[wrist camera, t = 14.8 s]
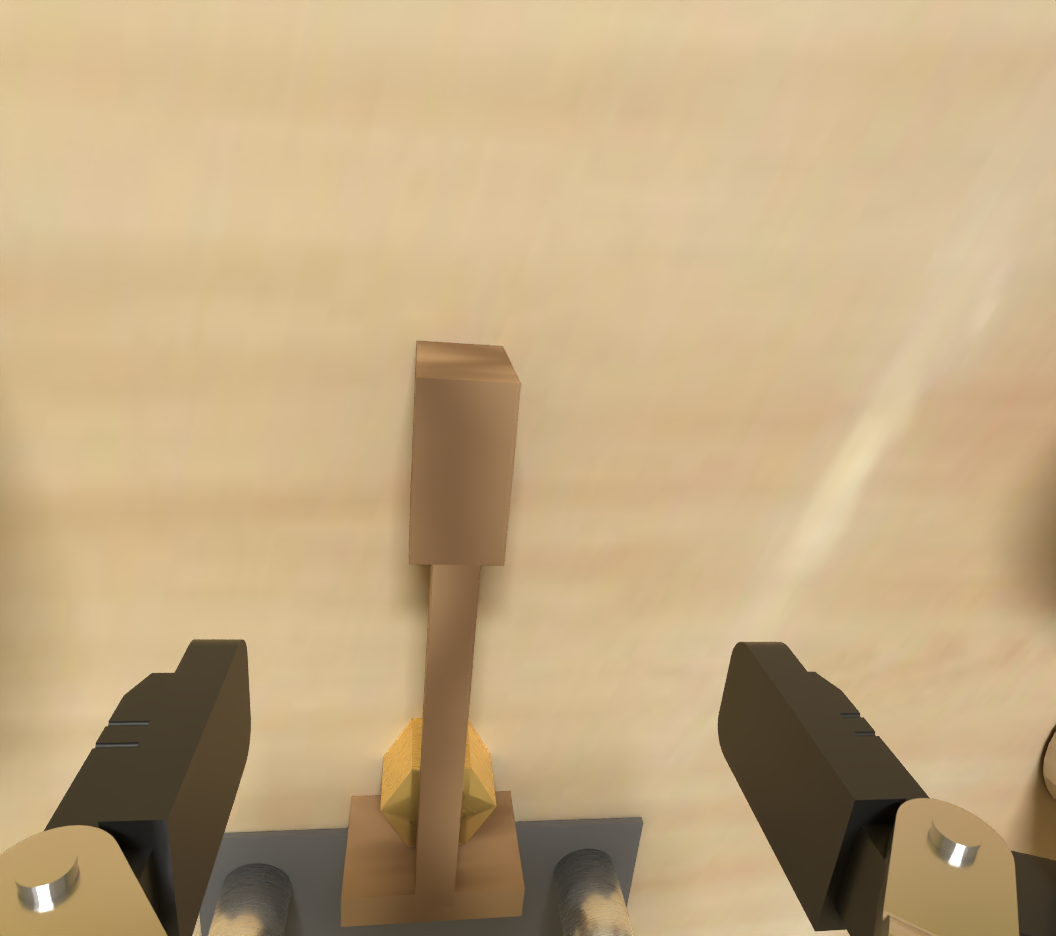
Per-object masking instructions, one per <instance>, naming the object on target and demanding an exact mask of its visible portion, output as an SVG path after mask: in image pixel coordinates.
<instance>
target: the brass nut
mask: <svg viewBox="0 0 1056 936" xmlns="http://www.w3.org/2000/svg"><path fill="white" fill-rule="evenodd" d="M422 723H423V718H415V719H412V720H411V721H410V723H409V724H408V725H407V726H406V728H405V729H404V730H403V732H402V733H401V734H400V736H399V737H398V738H397V740H396V741H395V742H394V744H393V745H392V746H391V748H390V749H389V750H388V752H387V753H386V754H385V756H384V759H383V776H382V792H381V809H380V811H381V812H382V813H383V815H384V816H385V817H386V819H387V820H388V821H389V823H390V824H391V825H392V827H393V828H394V829H395V830H396V832H397V833H398V834H399V836H400V837H401V838H402V840H403V841H404V842H405V844H406V845H407V846H408V847H416V835H417V816H418V797H419V779H420V760H421V741H422ZM496 807H497V805H496V797H495V789H494V780H493V772H492V764H491V756H490V753H489V751H488V750H487V748H486V747H485V745H484V744H483V742H482V740H481V739H480V737H479V736H478V734H477V733H476V731H475V729H474V728H473V726H472V725H471V723H470V722H469V720H468V729H467V741H466V753H465V766H464V778H463V791H462V803H461V816H460V828H459V841H458V845H465V844H466V843H467V842H468V841H469V839H470V838H471V837H472V836H473V835H474V833H475V832H476V831H477V830H478V828H479V827H480V826H481V825H482V824H483V822H484V821H485V820H486V819H487V818H488V816H489V815H490V814H491V813H492V811H493V810H494V809H495V808H496Z"/></svg>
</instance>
